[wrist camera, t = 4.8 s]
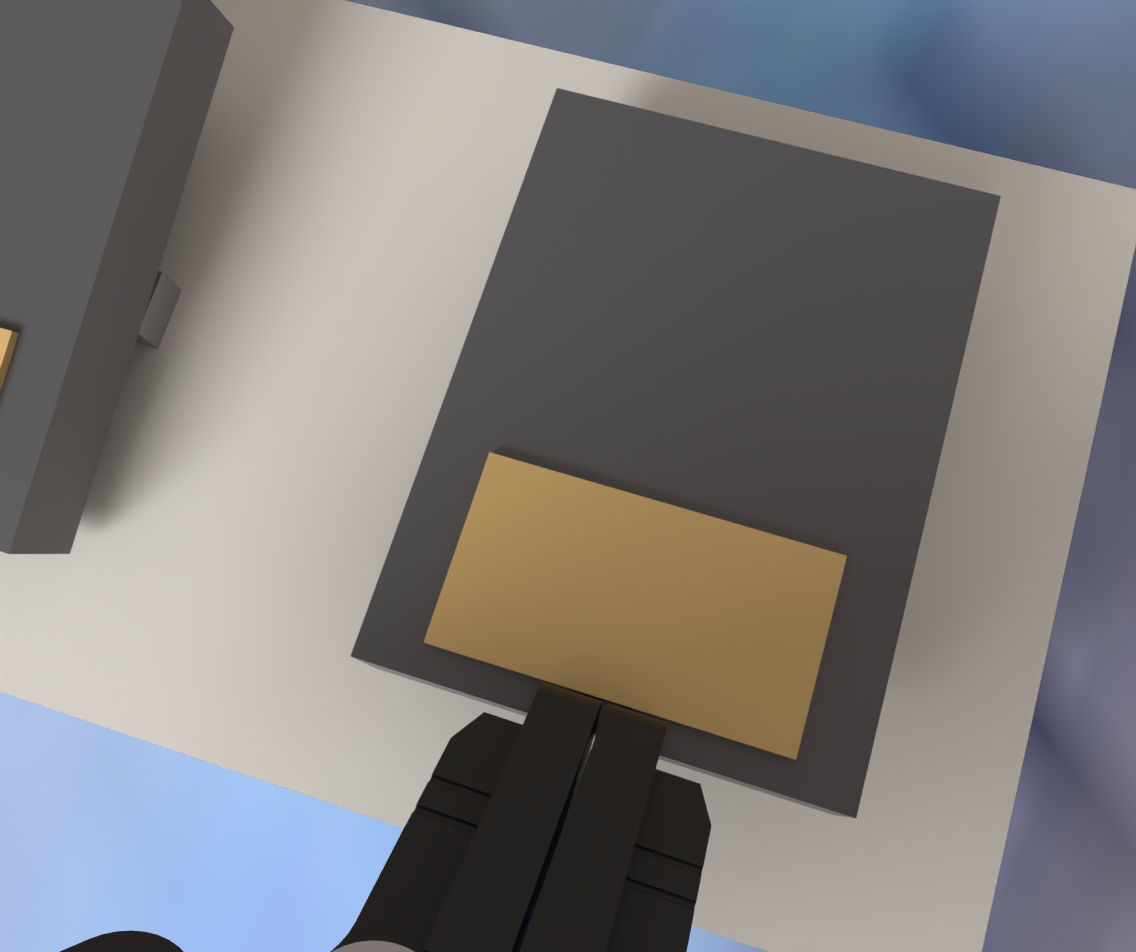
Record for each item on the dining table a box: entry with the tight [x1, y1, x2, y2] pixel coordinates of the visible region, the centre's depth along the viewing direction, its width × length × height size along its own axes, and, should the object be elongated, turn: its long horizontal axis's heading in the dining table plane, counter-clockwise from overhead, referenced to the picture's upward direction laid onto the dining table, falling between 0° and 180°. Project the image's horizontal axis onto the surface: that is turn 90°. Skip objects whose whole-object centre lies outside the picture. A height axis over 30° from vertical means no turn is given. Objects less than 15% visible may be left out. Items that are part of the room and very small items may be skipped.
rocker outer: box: [351, 88, 1001, 818], centre depth 14 cm, size 6×8×2 cm
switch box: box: [0, 0, 1136, 952], centre depth 21 cm, size 22×12×11 cm, turn 73°
